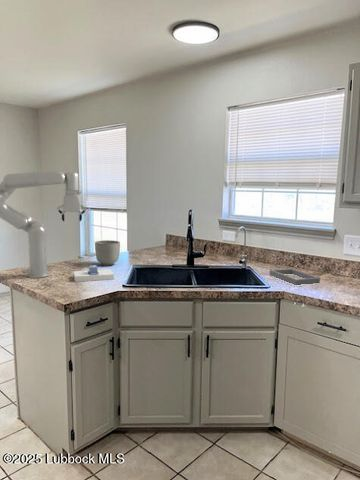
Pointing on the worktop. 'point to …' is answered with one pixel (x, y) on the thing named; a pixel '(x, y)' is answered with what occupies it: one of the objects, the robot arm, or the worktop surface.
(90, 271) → the servo block
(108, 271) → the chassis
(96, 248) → the planter
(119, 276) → the worktop surface
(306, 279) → the frame
